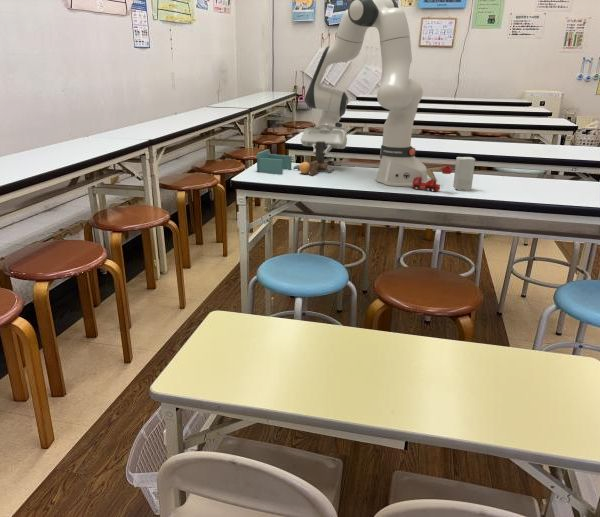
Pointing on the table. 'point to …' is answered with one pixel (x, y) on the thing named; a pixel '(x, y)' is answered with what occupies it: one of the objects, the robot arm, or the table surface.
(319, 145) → the slide kicker
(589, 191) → the table surface
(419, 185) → the toy fire truck
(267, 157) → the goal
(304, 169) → the ball
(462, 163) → the skincare box
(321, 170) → the kicker rail
